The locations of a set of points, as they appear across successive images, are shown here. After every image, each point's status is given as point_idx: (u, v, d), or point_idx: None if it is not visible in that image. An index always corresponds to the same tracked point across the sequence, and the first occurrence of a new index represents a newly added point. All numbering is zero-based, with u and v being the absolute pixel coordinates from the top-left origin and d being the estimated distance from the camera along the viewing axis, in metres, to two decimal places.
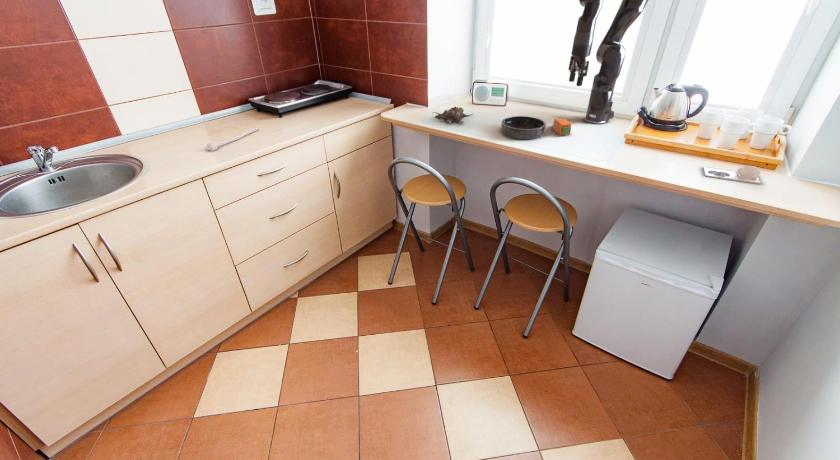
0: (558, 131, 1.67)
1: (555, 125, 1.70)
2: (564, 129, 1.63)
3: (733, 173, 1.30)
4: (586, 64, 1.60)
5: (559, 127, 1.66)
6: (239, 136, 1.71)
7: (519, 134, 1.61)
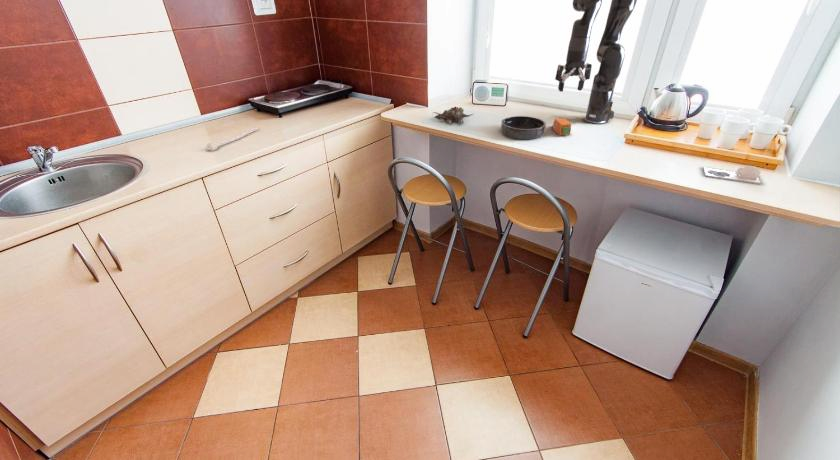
0: (558, 131, 1.67)
1: (555, 125, 1.70)
2: (564, 129, 1.63)
3: (733, 173, 1.30)
4: (559, 68, 1.58)
5: (559, 127, 1.66)
6: (239, 136, 1.71)
7: (519, 134, 1.61)
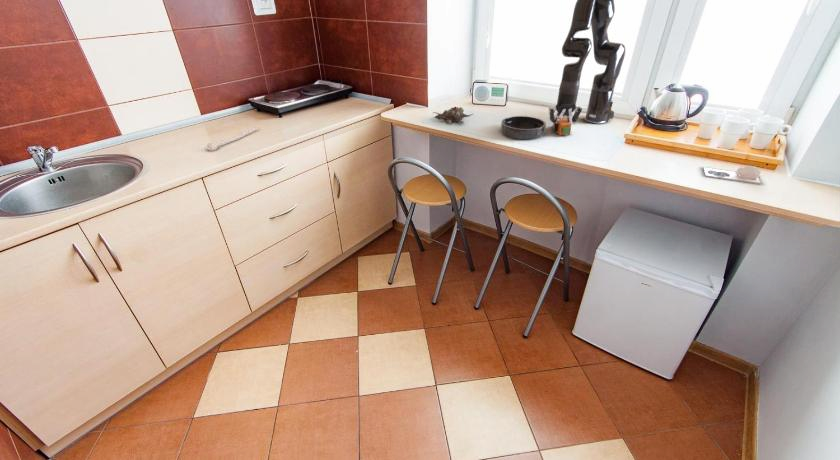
0: (558, 131, 1.67)
1: None
2: (564, 129, 1.63)
3: (733, 173, 1.30)
4: (550, 112, 1.64)
5: (559, 127, 1.66)
6: (239, 136, 1.71)
7: (519, 134, 1.61)
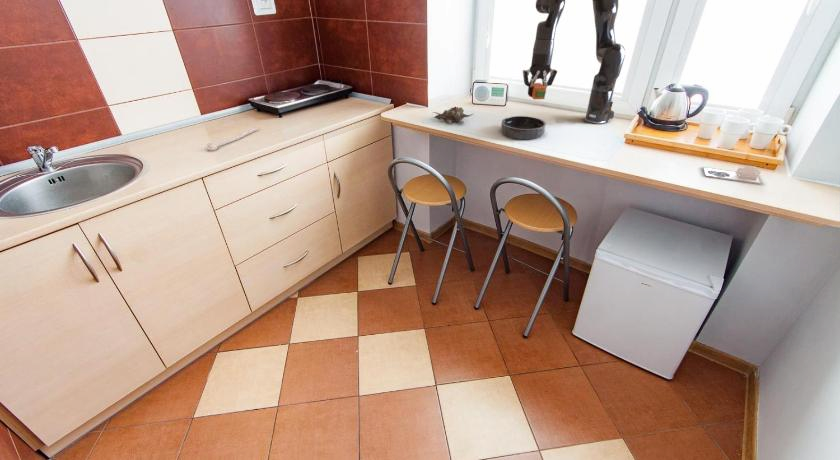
0: (532, 95, 1.59)
1: None
2: (538, 92, 1.55)
3: (733, 173, 1.30)
4: (523, 74, 1.56)
5: (533, 91, 1.57)
6: (239, 136, 1.71)
7: (519, 134, 1.61)
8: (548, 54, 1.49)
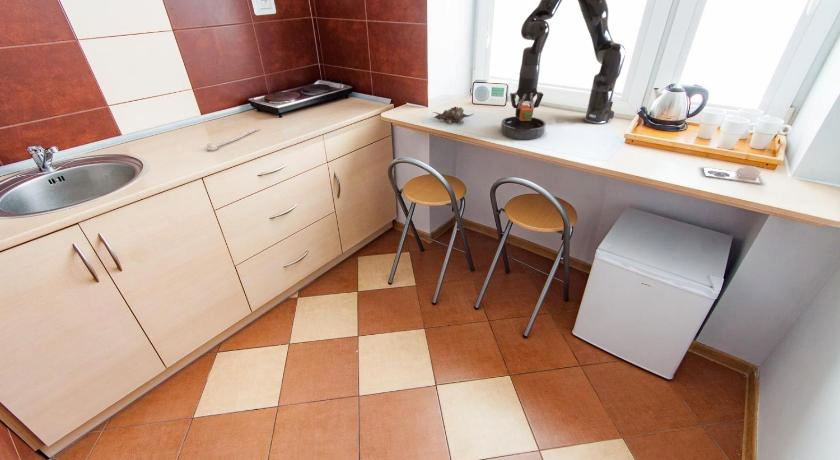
0: (520, 117, 1.64)
1: None
2: (525, 114, 1.60)
3: (733, 173, 1.30)
4: (511, 97, 1.61)
5: (520, 113, 1.62)
6: (239, 136, 1.71)
7: (519, 134, 1.61)
8: (534, 78, 1.54)
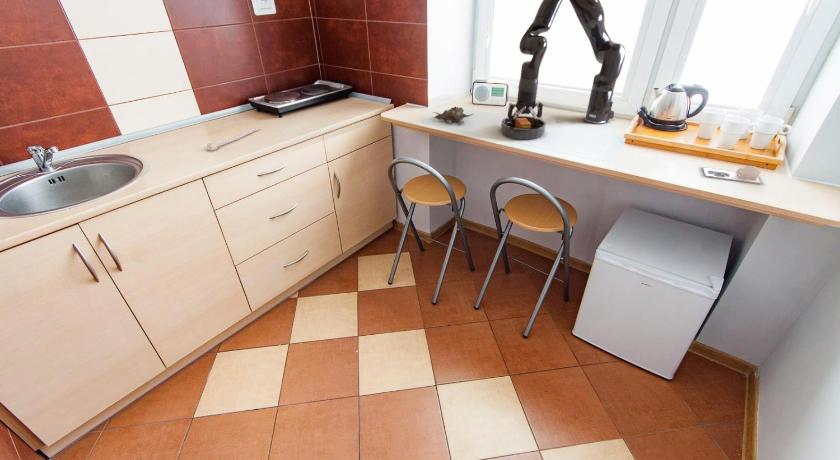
0: None
1: (516, 125, 1.70)
2: (523, 128, 1.63)
3: (733, 173, 1.30)
4: (509, 107, 1.63)
5: (519, 126, 1.66)
6: (239, 136, 1.71)
7: (519, 134, 1.61)
8: (532, 92, 1.57)
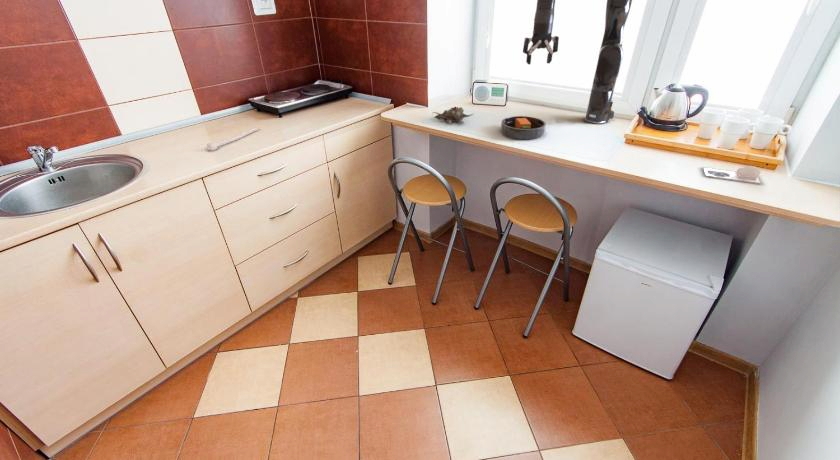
0: None
1: (516, 125, 1.70)
2: (523, 128, 1.63)
3: (733, 173, 1.30)
4: (525, 41, 1.61)
5: (519, 126, 1.66)
6: (239, 136, 1.71)
7: (519, 134, 1.61)
8: (549, 23, 1.55)
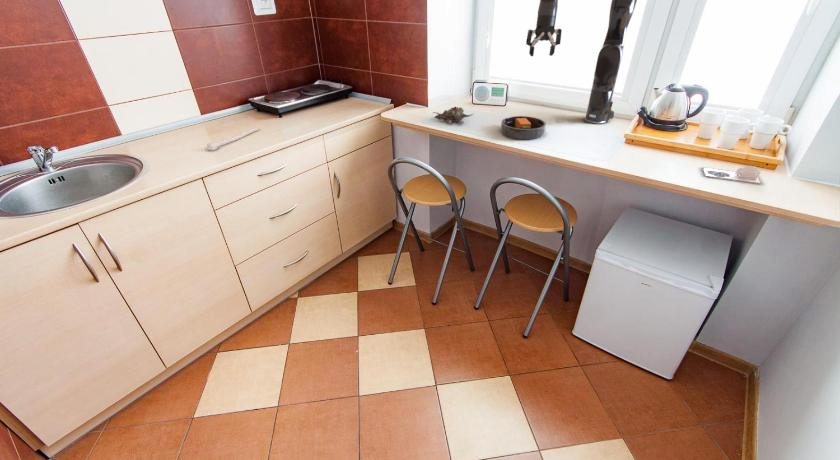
0: None
1: (516, 125, 1.70)
2: (523, 128, 1.63)
3: (733, 173, 1.30)
4: (528, 33, 1.64)
5: (519, 126, 1.66)
6: (239, 136, 1.71)
7: (519, 134, 1.61)
8: (552, 15, 1.58)
